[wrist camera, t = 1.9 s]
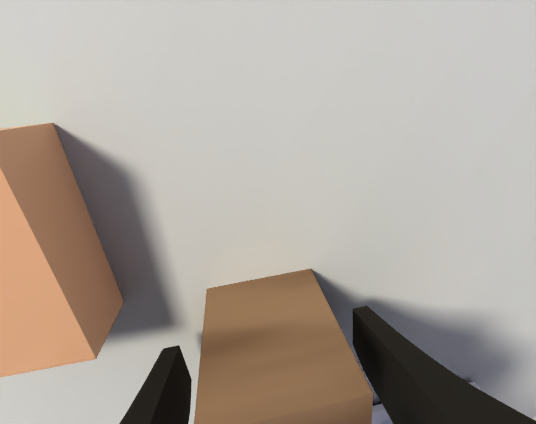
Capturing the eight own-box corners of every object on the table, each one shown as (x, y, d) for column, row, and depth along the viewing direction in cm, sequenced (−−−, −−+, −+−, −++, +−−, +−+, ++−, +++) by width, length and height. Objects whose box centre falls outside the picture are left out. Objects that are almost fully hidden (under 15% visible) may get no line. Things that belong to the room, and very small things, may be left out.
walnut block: (316, 342, 14) (368, 484, 9) (226, 361, 13) (227, 521, 8) (310, 268, 12) (372, 393, 7) (207, 288, 11) (192, 436, 6)
